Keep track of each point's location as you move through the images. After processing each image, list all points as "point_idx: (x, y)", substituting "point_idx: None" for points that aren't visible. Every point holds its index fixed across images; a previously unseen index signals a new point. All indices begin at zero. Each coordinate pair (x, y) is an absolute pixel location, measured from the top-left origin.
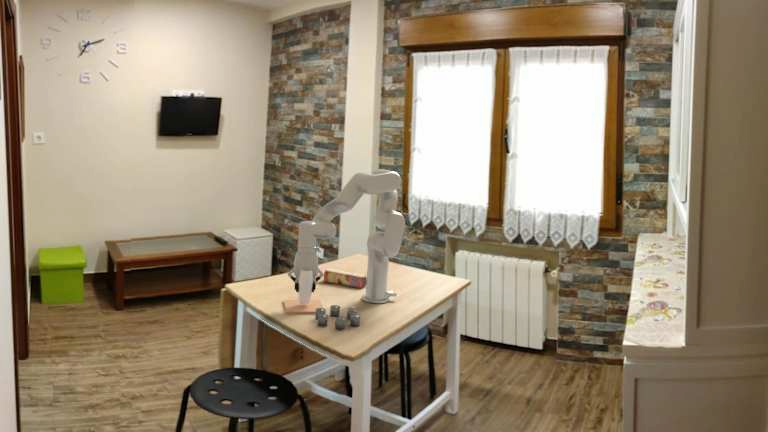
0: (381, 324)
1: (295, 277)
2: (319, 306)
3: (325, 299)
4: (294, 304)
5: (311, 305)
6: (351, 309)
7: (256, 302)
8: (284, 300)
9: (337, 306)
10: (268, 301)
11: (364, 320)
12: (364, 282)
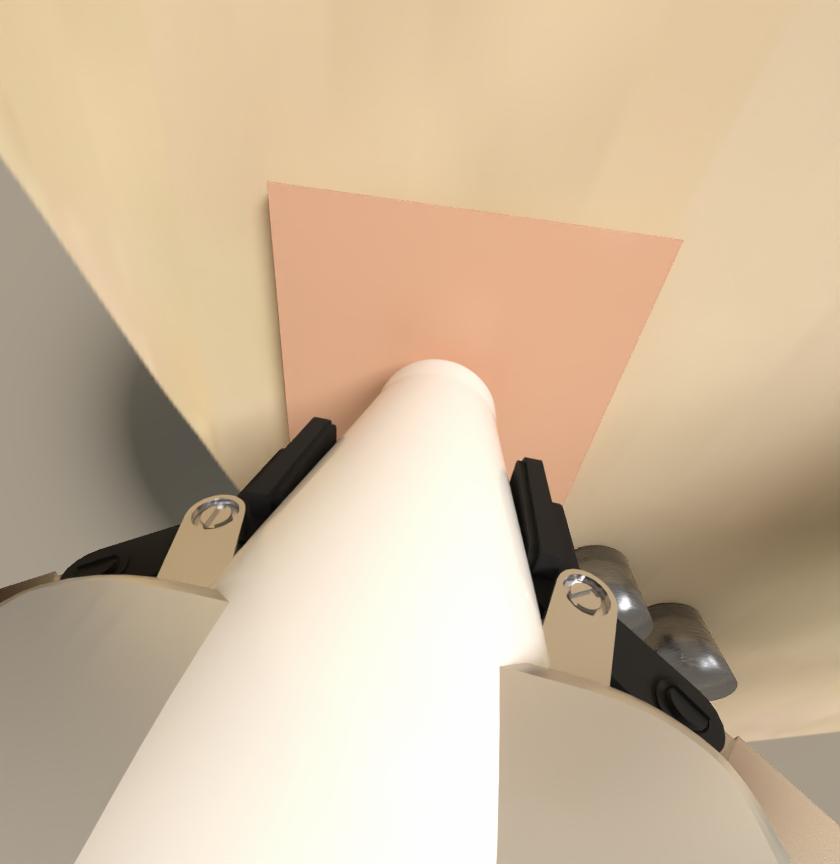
0: (771, 701)
1: (170, 573)
2: (561, 441)
3: (825, 109)
4: (362, 355)
5: (502, 406)
6: (693, 682)
7: (36, 164)
8: (274, 208)
9: (631, 628)
10: (130, 137)
11: (726, 651)
12: None
